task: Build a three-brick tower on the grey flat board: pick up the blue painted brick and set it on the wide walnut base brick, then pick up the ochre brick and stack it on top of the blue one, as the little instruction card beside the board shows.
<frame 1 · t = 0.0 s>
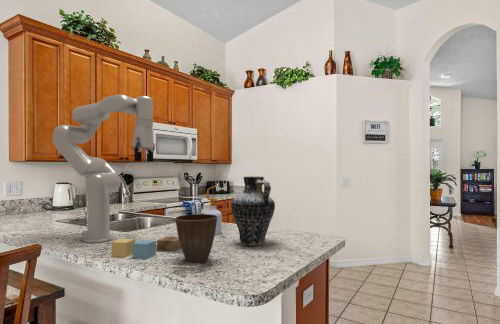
hand: (144, 161, 146), 37 cm above the countertop, tool pointing down, fingers open, 9 cm apart
walnut base brick: (170, 248, 132), point 1 cm above the countertop, touching grey flat board
soap bottle: (212, 233, 166), on the countertop
plant pot: (196, 262, 116), on the countertop
ochre brick: (123, 256, 123), on the countertop
grey flat board: (170, 249, 132), on the countertop
instruction card: (143, 247, 137), on the countertop
blue brick: (144, 258, 121), on the countertop
jug: (254, 244, 142), on the countertop
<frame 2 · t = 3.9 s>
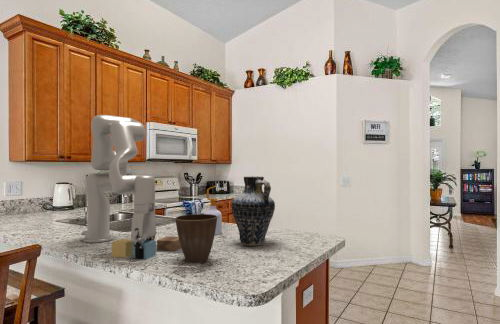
hand: (144, 255, 121), 1 cm above the countertop, tool pointing down, fingers closed on blue brick, 6 cm apart
blue brick: (144, 257, 121), on the countertop, touching gripper
everything else where it was.
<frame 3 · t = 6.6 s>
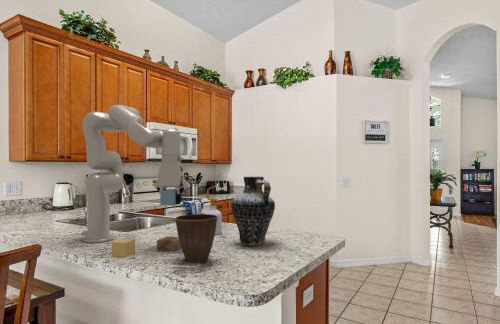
hand: (170, 203, 133), 19 cm above the countertop, tool pointing down, fingers closed on blue brick, 6 cm apart
blue brick: (170, 204, 133), point 19 cm above the countertop, touching gripper
everything else where it was.
when the fingers open (6 cm above the countertop, at t = 9.4 s): blue brick stays where it is, resting on walnut base brick.
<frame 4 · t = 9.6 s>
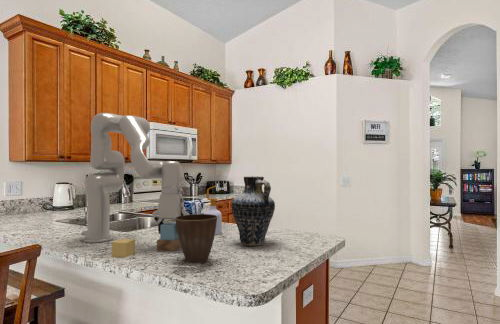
hand: (170, 233, 133), 7 cm above the countertop, tool pointing down, fingers open, 8 cm apart
walnut base brick: (170, 248, 132), point 1 cm above the countertop, touching blue brick, grey flat board
blue brick: (170, 238, 133), point 5 cm above the countertop, touching walnut base brick
everything else where it was.
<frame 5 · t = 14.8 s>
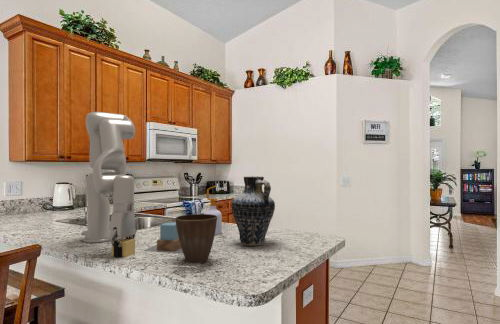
hand: (123, 254, 123), 1 cm above the countertop, tool pointing down, fingers closed on ochre brick, 6 cm apart
ochre brick: (123, 256, 123), on the countertop, touching gripper
everything else where it was.
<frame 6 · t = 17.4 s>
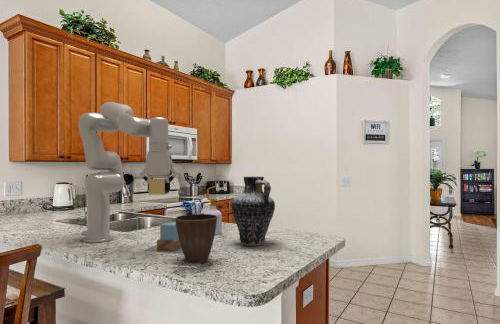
hand: (158, 192, 130), 24 cm above the countertop, tool pointing down, fingers closed on ochre brick, 6 cm apart
ochre brick: (158, 194, 130), point 23 cm above the countertop, touching gripper
everything else where it was.
when the fingers open (12 cm above the countertop, at t = 20.3 s): ochre brick stays where it is, resting on blue brick.
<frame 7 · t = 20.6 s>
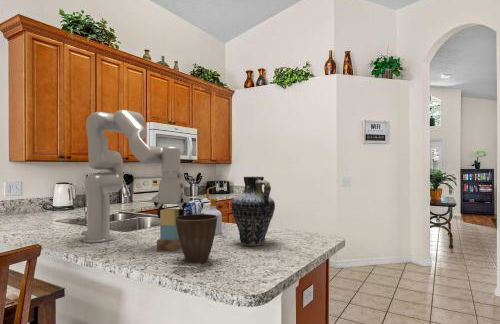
hand: (170, 218, 133), 13 cm above the countertop, tool pointing down, fingers open, 8 cm apart
ochre brick: (170, 224, 133), point 11 cm above the countertop, touching blue brick
blue brick: (170, 238, 133), point 5 cm above the countertop, touching ochre brick, walnut base brick
everything else where it was.
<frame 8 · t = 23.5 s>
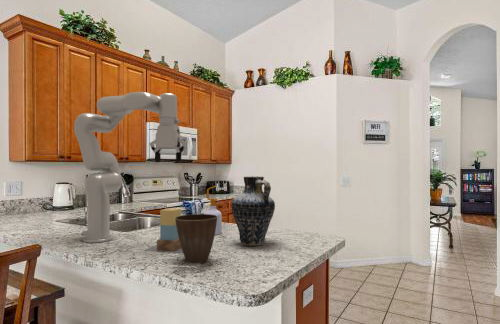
hand: (168, 162, 139), 36 cm above the countertop, tool pointing down, fingers open, 9 cm apart
nothing on the countertop moved.
at the end: blue brick 0.1 cm off-centre on the walnut base brick, point 4.0 cm above the walnut base brick's base; ochre brick 0.0 cm off-centre on the blue brick, point 6.0 cm above the blue brick's base; ochre brick point 10.6 cm above the countertop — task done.
